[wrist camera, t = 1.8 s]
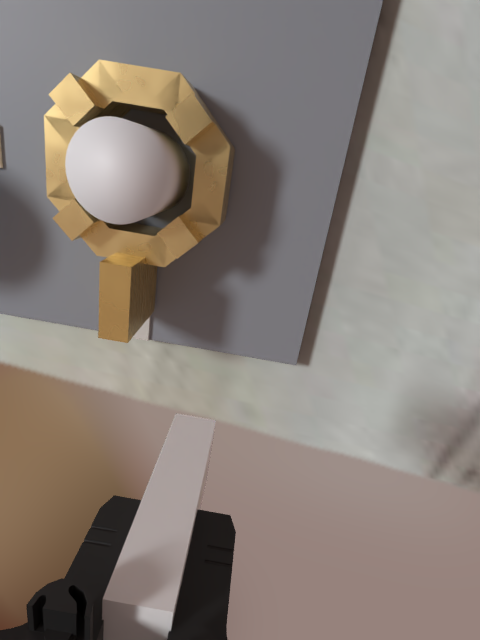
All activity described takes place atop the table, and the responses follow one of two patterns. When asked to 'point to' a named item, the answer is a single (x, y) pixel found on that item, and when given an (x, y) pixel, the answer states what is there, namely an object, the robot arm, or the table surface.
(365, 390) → the table surface
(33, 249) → the housing plate
